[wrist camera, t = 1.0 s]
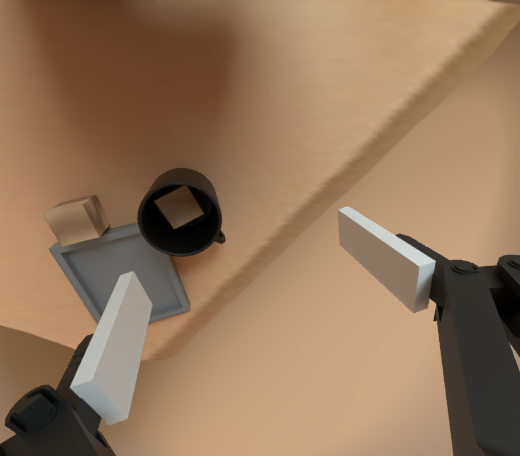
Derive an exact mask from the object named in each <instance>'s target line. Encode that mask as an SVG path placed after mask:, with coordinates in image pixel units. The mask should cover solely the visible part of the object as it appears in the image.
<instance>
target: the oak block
mask: <svg viewBox="0 0 520 456" xmlns="http://www.w3.org/2000/svg"><path fill="white" fill-rule="evenodd" d="M42 215H43V216H44V218H45V219H46V221H47V223H48V224H49V226H50V228H51V229H52V231H53V232H54V234H55V236H56V237H57V239H58V241H59V242H60V244H61V245H62V246H66V245H70V244H74V243H78V242H82V241H86V240H90V239H94V238H98V237H100V236H101V235H102V233H103V232H104V231H105V230H106V229H107V227H108V226H109V225H110V223H109V221H108V219H107V217H106V215H105V213H104V211H103V209H102V207H101V205H100V203H99V201H98V199H97V197H96V195H93V196H89V197H84V198H80V199H76V200H71V201H67V202H63V203H60V204H58V205H56V206H55V207H53V208H51V209H50V210H48V211H46V212H45V213H43V214H42Z"/></svg>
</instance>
